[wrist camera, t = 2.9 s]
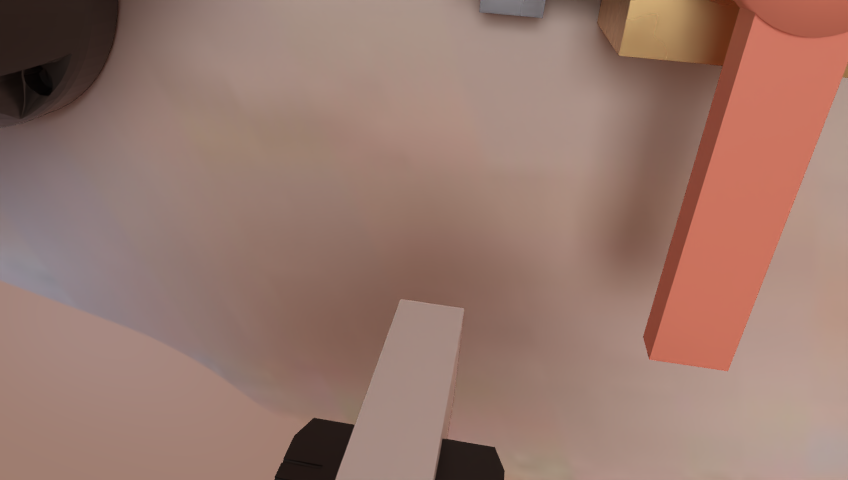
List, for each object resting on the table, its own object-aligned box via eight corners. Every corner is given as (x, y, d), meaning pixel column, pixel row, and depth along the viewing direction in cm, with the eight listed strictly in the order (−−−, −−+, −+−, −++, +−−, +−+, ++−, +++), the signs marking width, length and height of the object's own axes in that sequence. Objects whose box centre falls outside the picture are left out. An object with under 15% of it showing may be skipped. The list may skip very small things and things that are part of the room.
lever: (750, -165, 14) (774, -174, 13) (937, -153, 14) (984, -162, 12) (618, 329, 21) (624, 359, 19) (740, 347, 20) (756, 379, 19)
